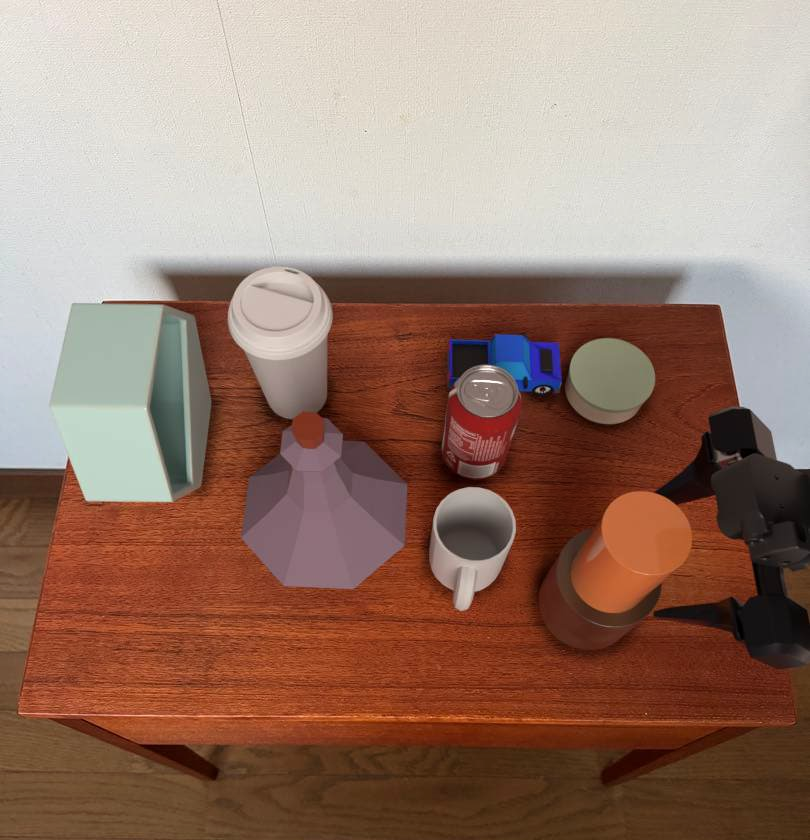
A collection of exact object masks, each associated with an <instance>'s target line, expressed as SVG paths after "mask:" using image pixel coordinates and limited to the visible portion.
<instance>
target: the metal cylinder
mask: <svg viewBox="0 0 810 840" xmlns="http://www.w3.org/2000/svg"><path fill="white" fill-rule="evenodd" d="M592 530H593V528H589V529H585V530H584V531H581V532H579V533H577V534H576V535H575V536H573V537H572V538H570V540H568V541H567V542H566V544H565V545H564V546H563V548H561V551H560V553H559V554H558V556H557V557H556V559H555V561H554V563H553V564H552V566H551V567H550V569H549V570H548V572H547V574H546V575H545V577H544V578H543V580H542V582H541V584H540V588H539V590H538V597H537V605H538V610H539V614H540V617H541V620H542V622H543V623H544V625H545V627H546V629H548V631H549V632H550V633H551V635H553V636H554V637H555V638H556V639H557V640H559V641H560V642H562V643H563V644H565V645H567V646H569V647H571V648H574V649H576V650H581V651H598V650H602V649H605V648H608V647H610V646H612V645H613V644H615V643H616V642H618V641H619V640H620V639H621V638H623V637H624V636H625V635H626V634H627V633H629V632H630V631H631V630H632V629H634V628H635V627H636V626H637V625H638V624H639V623H641V622H643V620H645V618H647V617H648V616H649V615H650V614H651V613H653V611H654V609H655V607H656V606H657V604H658V603H659V600H660V598H661V593H662V586H663V585H662V584H663V582H662V583H661V584H659V585H658V586H657V587H656V588H655V589H654V590H653V591H652V592H651V593H649V594H648V595H647V596H646V597H645V598H644V599H643V600H642V601H641V602H640V603H638V604H637V605H636V606H635V607H633V608H632V609H630V610H628V611H625V612H620V613H607V612H602V611H599V610H597V609H595V608H593V607H591V606H589V605H588V604H587V603H585V602H584V601H583V600H582V599H581V598H580V596H579V595H578V594H577V592H576V590H575V589H574V586H573V584H572V580H571V564H572V561H573V559H574V557H575V555H576V553H577V552H578V550H579V549H580V547H581V546H582V545H583V543H584V542H585V540H586V539H587V537H588V536H589V534H590V533H591V531H592Z"/></svg>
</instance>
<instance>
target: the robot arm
mask: <svg viewBox="0 0 810 840" xmlns="http://www.w3.org/2000/svg"><path fill="white" fill-rule="evenodd" d="M708 415H709V416H708V417H707V418H708V424H709V430H710V431H708V430H706V431H704V432H703V433H702V435H701V437H700V438H701V445H700V447H699V450H698V452H697V454H696V456H695V458H694V459H693V460H692V462H690V464H688V465H687V466H686V467H685V468H684V469H683V470H681V471H680V472H679V473H677V474H676V475H675V476H674V477H673V478H671V479H670V480H669V481H667V482H666V483H664V484H663V485H662V486H660V487H659V488H658V489H657V490H655V491H654V492H653V493H656V494H659V495H661V496H664V497H666V498H667V499H669V500H671V501H672V502H673V503H675V504H676V505H677V506H678V505H682V504H686V503H690V502H694V501H697V500H702V499H706V498H709V497H713V496H715V501H716V507H717V513H716V517H715V518H716V523H717V527H718V529H719V531H720V532H721V533H722V534H723V535H724V536H725V537H726V538H728V539H731V540H736V541H737V540H740V541H743V542H744V545H746V546H747V548H748V553H749V559H750V562H751V566H752V572H753V578H754V584H755V589H756V595H753V596H749V598H748V599H747V600H746V602H745V603H744V602H743V601H740V600H739V599H737V598H736V597H734V596H729V597H727V598H724V599H722V600H720V601H716V602H710V603H699V604H690V605H689V604H688V605H679V606H669V607H665V608H661V609H657V610H653V611H652V614H653V617H654V618H657V619H659V620H664V621H670V622H675V623H680V624H681V623H683V624H687V625H694V626H700V627H705V628H711V629H717V630H722V631H725V632H729V633H731V634H732V637H733V638H734V640H735V641H736V642H738V643H739V644H742V645H744V646H745V648H746V650H747V652H748V655H749V657H750V658H751V659H753V660H755V661H758V662H760V663H762V664H764V665H765V666H769V667H771V668H773V669H776V670H785V669H795V668H801V667H804V666H807V665H809V664H810V618H809V617H810V616H809V612H808V608H807V607H805V606H804V605H802V604H801V603H800V602H798V601H796V600H795V599H793V598H791V597H790V596H789V593H788V588H787V582H786V577H785V572H784V570H785V569H789V570H790V571H792V572H798V571H802V570H806V569H809V567H808V565H810V468H795V467H794V466H792V465H791V464H789V463H787V462H784V461H781V460H778V458H777V453H776V448H775V443H774V439H773V434H772V430H770V428H769V427H767V425H766V424H765V423H764V422H763V421H762V420H761V419H760V418H759V417H758V416H757V415H756V414H755V413H754V411H752V410H751V408H748V407H745V406H734V405H733V406H728V407H725V408H723V409H720V410H718V411H714V412H711V413H710V414H708Z"/></svg>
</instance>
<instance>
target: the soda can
mask: <svg viewBox="0 0 810 840" xmlns="http://www.w3.org/2000/svg"><path fill="white" fill-rule="evenodd" d="M522 406H523V399H522V395H521V391H519V390H518V387H517V384H516V382H515V380H514V378H513V377H512V376H511V375H510V374H509V373H508V372H507V371H505V370H504V369H502V368H500V367H497V366H493V365H479V366H475V367H472V368H470V369H469V370H467V371H466V372H465V373H464V374H463V375H462V376H461V377H460V378H459V379H458V380H457V381H456V382H455V383H454V384H453V386H452V388H451V390H449V393H448V397H447V406H446V412H445V413H446V414H445V420H444V426H443V427H444V428H443V434H442V443H441V456H442V459H443V462H444V463H445V465H446V466H447V468H448V469H449V470H450V471H451V472H452V473H454V474H455V475H457V476H458V477H461V478H463V479H466V480H472V481H481V480H485V479H489V478H490V477H493V476H494V475H496V474H498V473H499V472H500V470H501V469H502V468H503V467H504V465H505V463H506V460H507V458H508V454H509V450H510V447H511V444H512V440H513V438H514V435H515V432H516V429H517V425H518V422H519V419H520V416H521V412H522Z"/></svg>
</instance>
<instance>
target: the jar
mask: <svg viewBox="0 0 810 840" xmlns="http://www.w3.org/2000/svg"><path fill="white" fill-rule="evenodd" d="M655 385H656V373H655V369H654V365H653V364H652V362H651V360H650V359H649V357H648V356H647V354H645V352H643V351H642V350H641V349H640V348H638V347H637V346H636V345H634V344H632V343H630V342H628V341H626V340H623V339H619V338H612V337H604V338H602V337H601V338H596V339H593V340H591V341H588V342H586V343H584V344H582V345H581V346H580V347H579V348H578V349H577V350H575V353H574V354H573V355H572V358H571V360H570V362H569V366H568V373H567V375H566V378H565V383H564V390H565V391H564V392H565V395H566V399H567V400H568V403H569V405H570V406H571V407H572V408H573V410H575V412H576V413H578V414H579V415H580V416H582V417H583V418H585V419H586V420H588V421H591V422H594V423H596V424H601V425H616V424H620V423H624V422H626V421H628V420H630V419H632V418H633V417H635V416H636V415H637V413H638V412H639V411H640V409H641V408H642V406H643V404H645V403H646V402H647V401H648V399H649V398H650V396H652V393H653V391H654V389H655Z"/></svg>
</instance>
